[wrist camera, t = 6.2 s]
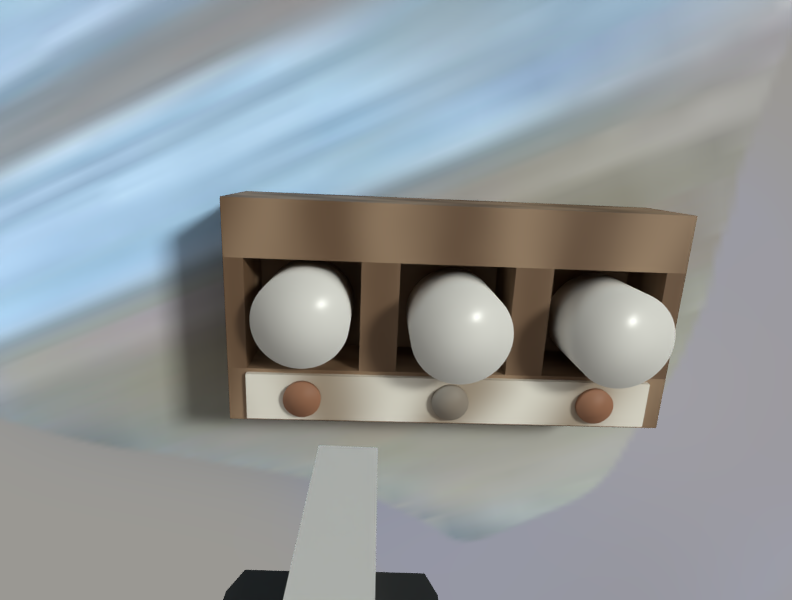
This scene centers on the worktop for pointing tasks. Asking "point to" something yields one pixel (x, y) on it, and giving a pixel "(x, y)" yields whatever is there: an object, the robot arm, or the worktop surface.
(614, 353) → the right button
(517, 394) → the button panel
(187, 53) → the worktop surface
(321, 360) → the left button
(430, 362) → the middle button
